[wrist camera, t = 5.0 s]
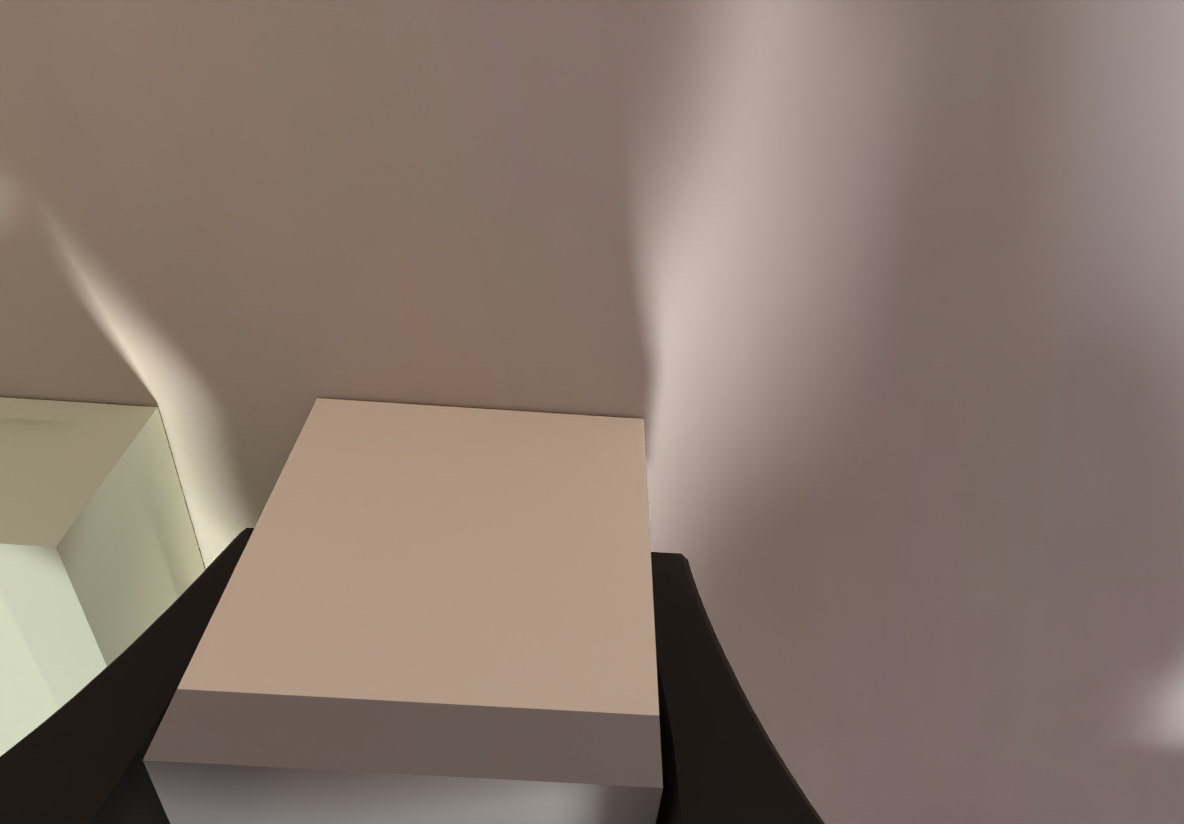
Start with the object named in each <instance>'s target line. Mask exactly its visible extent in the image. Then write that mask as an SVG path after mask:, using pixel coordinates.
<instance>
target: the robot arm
mask: <svg viewBox="0 0 1184 824" xmlns="http://www.w3.org/2000/svg"><path fill="white" fill-rule="evenodd" d="M253 530H254V528H246V529H245V530H243V531H242V532H241V533H240V534H239V535H238V536H237V537H236V538H235V539H234V540H233V541H232V542H231V543H230V544H229V545H228V546H227V548H226V549H225V550H224V551H223V552H222V553H221V554H220V555H219V556H218V557H217V558H216V559H215V560H214V561H213V562H212V563H211V564H210V565H209V567H208V568H207V569H206V570H205V571H204V572H203V573H202V574H201V575H200V576H199V577H198V578H197V579H196V580H195V581H194V582H193V583H192V584H191V585H190V586H189V587H188V588H187V589H186V590H185V591H184V593H183V594H182V595H181V596H180V597H179V598H178V599H177V600H176V601H175V602H174V603H173V604H172V605H171V606H170V607H169V608H168V609H167V610H166V611H165V612H164V613H163V614H162V615H161V616H160V617H159V618H158V619H157V620H156V621H155V622H154V623H152V624H151V625H150V626H149V627H148V628H147V629H146V630H145V631H144V632H143V633H142V634H141V635H140V636H139V637H138V638H137V639H136V640H135V641H134V642H133V643H132V644H131V645H130V646H129V647H128V648H127V649H126V650H125V651H124V652H123V653H121V654H120V655H119V656H118V657H117V658H116V659H115V660H114V661H113V662H112V663H110V664H109V665H108V666H107V667H106V668H105V669H104V670H103V671H102V672H100V673H99V674H98V675H97V676H96V677H95V678H94V679H93V680H92V681H91V682H89V683H88V684H87V685H86V686H85V687H84V688H83V689H82V690H81V691H79V692H78V693H77V694H76V695H75V696H74V697H73V698H72V699H70V700H69V701H68V702H67V703H66V704H64V705H63V706H62V707H61V708H60V709H59V710H57V711H56V712H55V713H54V714H53V715H51V716H50V717H49V718H48V719H47V720H45V721H44V722H43V723H42V724H41V725H39V726H38V727H37V728H36V729H34V730H33V731H32V732H31V733H29V734H28V735H27V736H26V737H24V738H23V739H22V740H21V741H19V742H18V743H17V744H15V745H14V746H13V747H12V748H10V749H9V750H8V751H7V752H5V753H4V754H3V755H1V756H0V824H170V822H169V819H168V817H167V815H166V813H165V810H164V808H163V806H162V803H161V801H160V799H159V796H158V794H157V792H156V790H155V787H154V785H153V783H152V780H151V778H150V776H149V773H148V771H147V769H146V767H145V764H144V762H143V759H144V757H145V754H146V752H147V750H148V748H149V746H150V744H151V742H152V740H153V738H154V736H155V734H156V732H157V730H158V727H159V725H160V723H161V721H162V719H163V717H164V715H165V713H166V711H167V709H168V707H169V705H170V703H171V700H172V698H173V696H174V694H175V692H176V690H177V688H178V686H179V684H180V682H181V680H182V678H183V676H184V673H185V671H186V669H187V667H188V665H189V663H190V661H191V659H192V657H193V655H194V653H195V651H196V649H197V646H198V644H199V642H200V640H201V638H202V636H203V634H204V632H205V630H206V628H207V626H208V624H209V622H210V619H211V617H212V615H213V613H214V611H215V609H216V607H217V605H218V603H219V601H220V599H221V597H222V595H223V592H224V590H225V588H226V586H227V584H228V582H229V580H230V578H231V576H232V574H233V572H234V570H235V568H236V565H237V563H238V561H239V559H240V557H241V555H242V553H243V551H244V549H245V547H246V545H247V543H248V541H249V538H250V536H251V534H252V532H253ZM651 566H652V585H653V604H654V623H655V643H656V662H657V681H658V700H659V719H660V739H661V758H662V777H663V791H662V795H661V800H660V805H659V809H658V814H657V819H656V824H824V822H823V821H822V819H821V818H820V816H819V815H818V814H817V812H816V811H815V809H814V808H813V806H812V805H811V804H810V802H809V801H808V799H807V798H806V796H805V795H804V793H803V791H802V790H801V788H800V787H799V785H798V784H797V782H796V781H795V779H794V778H793V776H792V775H791V773H790V772H789V770H788V768H787V767H786V765H785V764H784V762H783V760H782V759H781V757H780V756H779V754H778V752H777V751H776V749H775V747H774V746H773V744H772V742H771V741H770V739H769V737H768V735H767V734H766V732H765V730H764V728H763V726H762V725H761V723H760V721H759V719H758V718H757V716H756V714H755V712H754V711H753V709H752V707H751V705H750V703H749V701H748V699H747V698H746V696H745V694H744V692H743V690H742V688H741V686H740V684H739V682H738V680H737V678H736V676H735V674H734V672H733V670H732V668H731V666H730V664H729V662H728V660H727V658H726V656H725V654H724V652H723V650H722V647H721V645H720V643H719V641H718V639H717V637H716V634H715V632H714V630H713V627H712V625H711V623H710V620H709V618H708V616H707V613H706V611H705V608H704V606H703V603H702V601H701V598H700V596H699V593H698V590H697V588H696V585H695V582H694V579H693V576H692V573H691V570H690V566H689V563H688V560H687V559H686V558H685V557H684V556H683V555H682V554H675V553H658V552H651Z"/></svg>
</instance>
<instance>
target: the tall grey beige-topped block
mask: <svg viewBox="0 0 1184 824" xmlns="http://www.w3.org/2000/svg"><path fill="white" fill-rule="evenodd" d="M143 762H144V764H145V767H146V769H147V771H148V773H149V776H150V778H151V780H152V783H153V785H154V787H155V790H156V792H157V794H158V796H159V799H160V801H161V803H162V806H163V808H164V810H165V813H166V815H167V817H168V819H169V822H170V824H656V819H657V814H658V809H659V805H660V800H661V795H662V791H663V777H662V758H661V739H660V719H659V700H658V681H657V662H656V643H655V623H654V604H653V585H652V566H651V546H650V527H649V508H648V489H647V470H646V450H645V431H644V419H637V418H621V417H605V416H589V415H574V414H558V413H542V412H527V411H511V410H495V409H480V408H464V407H448V406H433V405H417V404H401V403H386V402H370V401H354V400H339V399H323V398H317V399H316V401H315V404H314V406H313V408H312V410H311V412H310V414H309V416H308V418H307V420H306V422H305V424H304V426H303V428H302V431H301V433H300V435H299V437H298V439H297V441H296V443H295V445H294V447H293V449H292V451H291V453H290V455H289V458H288V460H287V462H286V464H285V466H284V468H283V470H282V472H281V474H280V476H279V478H278V480H277V482H276V485H275V487H274V489H273V491H272V493H271V495H270V497H269V499H268V501H267V503H266V505H265V507H264V509H263V512H262V514H261V516H260V518H259V520H258V522H257V524H256V526H255V528H254V530H253V532H252V534H251V536H250V538H249V541H248V543H247V545H246V547H245V549H244V551H243V553H242V555H241V557H240V559H239V561H238V563H237V565H236V568H235V570H234V572H233V574H232V576H231V578H230V580H229V582H228V584H227V586H226V588H225V590H224V592H223V595H222V597H221V599H220V601H219V603H218V605H217V607H216V609H215V611H214V613H213V615H212V617H211V619H210V622H209V624H208V626H207V628H206V630H205V632H204V634H203V636H202V638H201V640H200V642H199V644H198V646H197V649H196V651H195V653H194V655H193V657H192V659H191V661H190V663H189V665H188V667H187V669H186V671H185V673H184V676H183V678H182V680H181V682H180V684H179V686H178V688H177V690H176V692H175V694H174V696H173V698H172V700H171V703H170V705H169V707H168V709H167V711H166V713H165V715H164V717H163V719H162V721H161V723H160V725H159V727H158V730H157V732H156V734H155V736H154V738H153V740H152V742H151V744H150V746H149V748H148V750H147V752H146V754H145V757H144V759H143Z"/></svg>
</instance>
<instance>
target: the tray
mask: <svg viewBox="0 0 1184 824" xmlns="http://www.w3.org/2000/svg"><path fill="white" fill-rule="evenodd" d="M204 571H205V568H204V565H203V561H202V558H201V554H200V551H199V548H198V544H197V541H196V537H195V534H194V530H193V527H192V523H191V520H190V516H189V513H188V510H187V506H186V503H185V499H184V496H183V492H182V489H181V485H180V482H179V478H178V475H177V472H176V468H175V465H174V461H173V458H172V454H171V451H170V447H169V444H168V440H167V437H166V434H165V430H164V427H163V423H162V420H161V416H160V413H159V409H158V407H146V406H131V405H115V404H99V403H83V402H68V401H52V400H36V399H21V398H5V397H0V756H1V755H3V754H4V753H5V752H7V751H8V750H9V749H10V748H12V747H13V746H14V745H15V744H17V743H18V742H19V741H21V740H22V739H23V738H24V737H26V736H27V735H28V734H29V733H31V732H32V731H33V730H34V729H36V728H37V727H38V726H39V725H41V724H42V723H43V722H44V721H45V720H47V719H48V718H49V717H50V716H51V715H53V714H54V713H55V712H56V711H57V710H59V709H60V708H61V707H62V706H63V705H64V704H66V703H67V702H68V701H69V700H70V699H72V698H73V697H74V696H75V695H76V694H77V693H78V692H79V691H81V690H82V689H83V688H84V687H85V686H86V685H87V684H88V683H89V682H91V681H92V680H93V679H94V678H95V677H96V676H97V675H98V674H99V673H100V672H102V671H103V670H104V669H105V668H106V667H107V666H108V665H109V664H110V663H112V662H113V661H114V660H115V659H116V658H117V657H118V656H119V655H120V654H121V653H123V652H124V651H125V650H126V649H127V648H128V647H129V646H130V645H131V644H132V643H133V642H134V641H135V640H136V639H137V638H138V637H139V636H140V635H141V634H142V633H143V632H144V631H145V630H146V629H147V628H148V627H149V626H150V625H151V624H152V623H154V622H155V621H156V620H157V619H158V618H159V617H160V616H161V615H162V614H163V613H164V612H165V611H166V610H167V609H168V608H169V607H170V606H171V605H172V604H173V603H174V602H175V601H176V600H177V599H178V598H179V597H180V596H181V595H182V594H183V593H184V591H185V590H186V589H187V588H188V587H189V586H190V585H191V584H192V583H193V582H194V581H195V580H196V579H197V578H198V577H199V576H200V575H201V574H202V573H203V572H204Z"/></svg>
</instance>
